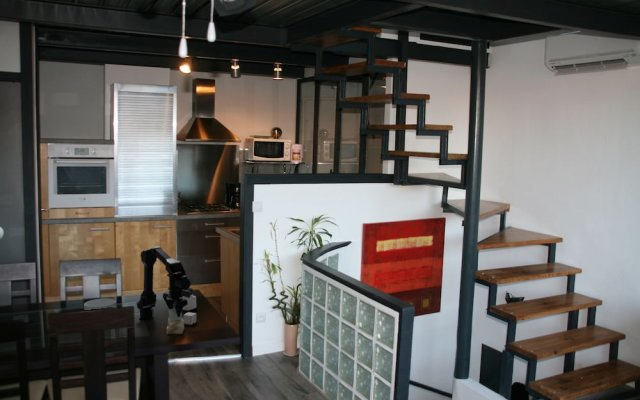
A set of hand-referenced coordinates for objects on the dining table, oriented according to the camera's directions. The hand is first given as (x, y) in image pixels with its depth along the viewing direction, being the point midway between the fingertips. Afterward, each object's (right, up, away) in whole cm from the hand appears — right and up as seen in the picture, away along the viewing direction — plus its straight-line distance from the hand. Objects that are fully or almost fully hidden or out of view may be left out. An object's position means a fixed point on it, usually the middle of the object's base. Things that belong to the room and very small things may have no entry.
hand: (175, 314), depth 307 cm
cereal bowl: (-49, -5, +26) cm, 56 cm away
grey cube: (+4, -7, +15) cm, 17 cm away
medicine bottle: (-2, -4, +40) cm, 40 cm away
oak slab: (0, -9, +1) cm, 10 cm away
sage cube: (0, -2, 0) cm, 2 cm away
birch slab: (0, -6, 0) cm, 6 cm away
